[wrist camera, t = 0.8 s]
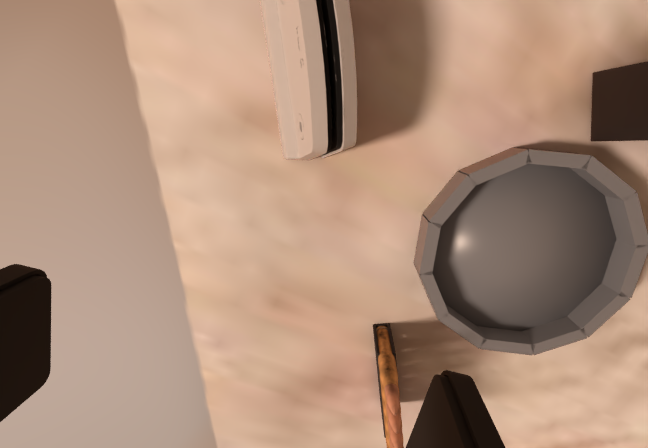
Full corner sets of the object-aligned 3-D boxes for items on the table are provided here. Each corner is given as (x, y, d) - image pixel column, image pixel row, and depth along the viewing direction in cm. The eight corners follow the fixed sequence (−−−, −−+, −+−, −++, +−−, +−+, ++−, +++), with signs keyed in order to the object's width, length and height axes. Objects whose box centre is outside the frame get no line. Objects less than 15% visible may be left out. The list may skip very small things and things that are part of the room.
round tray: (511, 105, 32) (527, 103, 30) (667, 229, 34) (696, 239, 32) (377, 267, 38) (380, 279, 35) (520, 368, 40) (533, 386, 37)
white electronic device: (255, -28, 31) (269, -103, 22) (307, -29, 32) (342, -100, 23) (283, 162, 35) (306, 169, 26) (329, 156, 36) (366, 160, 27)
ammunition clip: (396, 402, 42) (414, 507, 30) (380, 403, 42) (392, 507, 31) (389, 322, 39) (406, 404, 28) (372, 324, 39) (382, 405, 28)
